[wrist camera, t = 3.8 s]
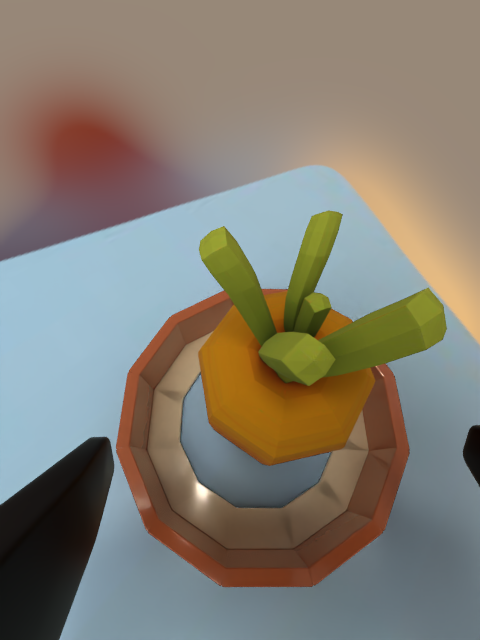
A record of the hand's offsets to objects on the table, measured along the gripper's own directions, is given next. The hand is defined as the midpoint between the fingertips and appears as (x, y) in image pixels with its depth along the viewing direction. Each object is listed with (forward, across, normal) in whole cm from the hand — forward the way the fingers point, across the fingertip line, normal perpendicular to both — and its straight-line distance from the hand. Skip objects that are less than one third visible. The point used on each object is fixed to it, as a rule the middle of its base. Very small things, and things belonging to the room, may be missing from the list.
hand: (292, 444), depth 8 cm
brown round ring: (+9, 0, +6) cm, 10 cm away
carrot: (+9, 0, +6) cm, 11 cm away
